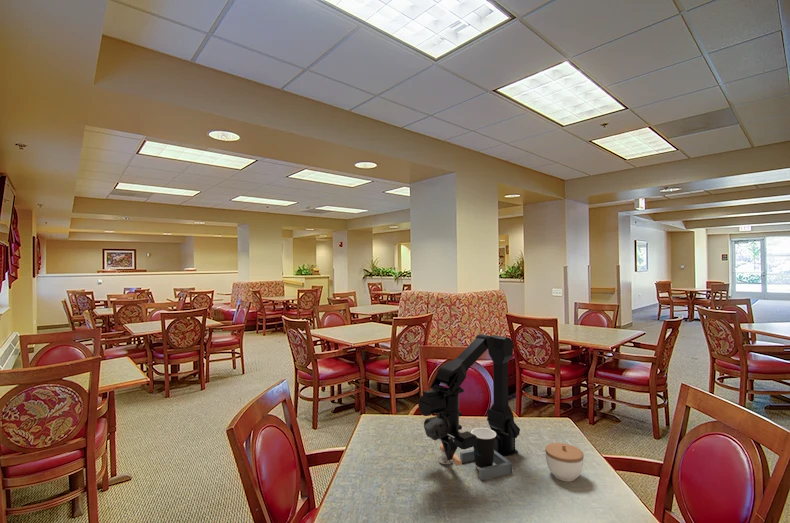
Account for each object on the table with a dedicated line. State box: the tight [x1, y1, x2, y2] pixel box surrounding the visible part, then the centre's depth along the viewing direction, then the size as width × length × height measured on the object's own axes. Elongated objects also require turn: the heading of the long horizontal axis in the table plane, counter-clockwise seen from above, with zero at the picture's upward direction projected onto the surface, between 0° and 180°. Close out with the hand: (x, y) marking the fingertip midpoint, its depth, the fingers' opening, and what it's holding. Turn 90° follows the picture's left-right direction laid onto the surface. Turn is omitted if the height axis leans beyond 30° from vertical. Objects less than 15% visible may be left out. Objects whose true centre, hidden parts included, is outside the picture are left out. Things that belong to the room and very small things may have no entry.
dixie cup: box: [470, 427, 496, 471], centre depth 125 cm, size 8×8×11 cm
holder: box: [459, 448, 513, 481], centre depth 125 cm, size 11×12×3 cm
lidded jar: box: [544, 442, 584, 483], centre depth 119 cm, size 11×11×9 cm
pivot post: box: [437, 450, 454, 466], centre depth 129 cm, size 5×5×4 cm
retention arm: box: [439, 442, 462, 466], centre depth 124 cm, size 13×4×1 cm, turn 14°
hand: (449, 459), depth 120 cm, fingers closed
